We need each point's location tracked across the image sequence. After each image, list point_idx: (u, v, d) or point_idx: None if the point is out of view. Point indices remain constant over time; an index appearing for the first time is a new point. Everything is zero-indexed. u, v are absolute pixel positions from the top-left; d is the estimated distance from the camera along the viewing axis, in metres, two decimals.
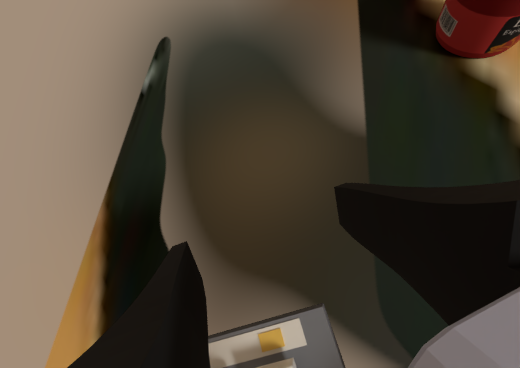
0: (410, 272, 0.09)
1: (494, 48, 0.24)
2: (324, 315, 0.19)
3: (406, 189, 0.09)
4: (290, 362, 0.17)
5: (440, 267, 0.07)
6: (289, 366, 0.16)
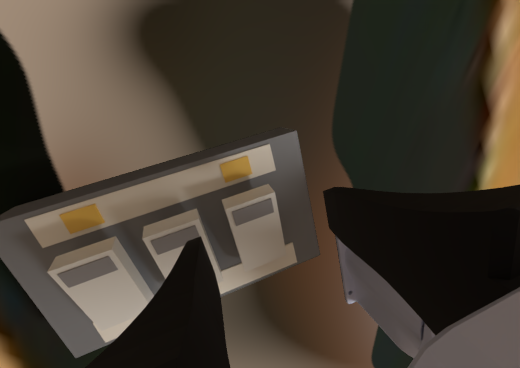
0: (396, 279, 0.09)
1: None
2: (296, 139, 0.16)
3: (392, 195, 0.08)
4: (269, 189, 0.15)
5: (424, 275, 0.07)
6: (271, 193, 0.14)
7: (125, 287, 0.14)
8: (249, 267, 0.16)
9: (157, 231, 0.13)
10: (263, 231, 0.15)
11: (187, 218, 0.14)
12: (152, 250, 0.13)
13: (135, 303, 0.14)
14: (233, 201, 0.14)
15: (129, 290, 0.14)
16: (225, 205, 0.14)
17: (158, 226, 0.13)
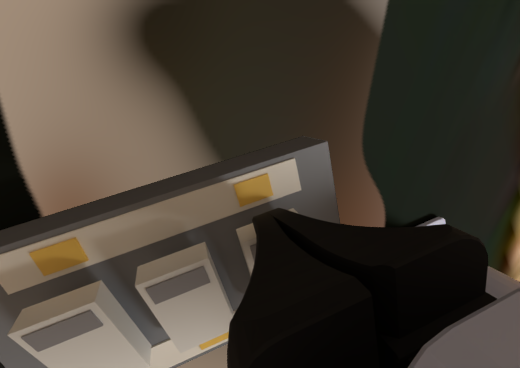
0: None
1: None
2: (327, 152, 0.13)
3: (319, 223, 0.08)
4: None
5: None
6: None
7: (114, 344, 0.11)
8: None
9: (154, 275, 0.10)
10: None
11: (193, 256, 0.11)
12: (148, 299, 0.10)
13: (127, 361, 0.11)
14: (251, 232, 0.11)
15: (119, 347, 0.11)
16: (241, 237, 0.11)
17: (155, 267, 0.10)
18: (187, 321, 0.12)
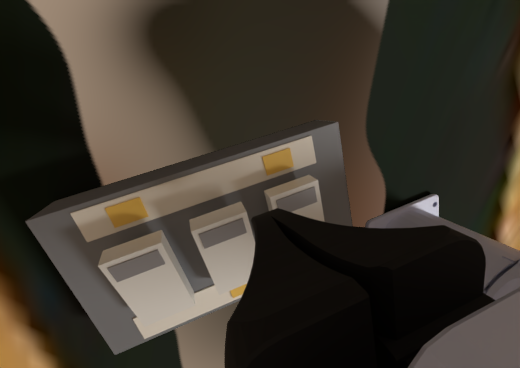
0: None
1: None
2: (338, 131, 0.16)
3: (317, 224, 0.08)
4: (312, 178, 0.15)
5: None
6: (315, 181, 0.14)
7: (170, 282, 0.14)
8: None
9: (205, 224, 0.13)
10: None
11: (234, 211, 0.13)
12: (199, 243, 0.13)
13: (179, 298, 0.14)
14: (276, 190, 0.14)
15: (174, 285, 0.14)
16: (269, 194, 0.14)
17: (204, 219, 0.13)
18: (226, 266, 0.14)
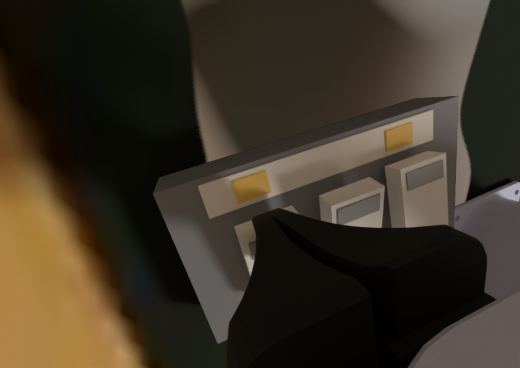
0: None
1: None
2: (456, 106, 0.15)
3: (318, 224, 0.08)
4: (436, 152, 0.14)
5: None
6: (443, 153, 0.13)
7: None
8: None
9: (343, 199, 0.12)
10: (430, 200, 0.14)
11: (369, 186, 0.12)
12: (334, 220, 0.12)
13: None
14: (402, 164, 0.13)
15: None
16: (396, 168, 0.13)
17: (338, 194, 0.12)
18: None
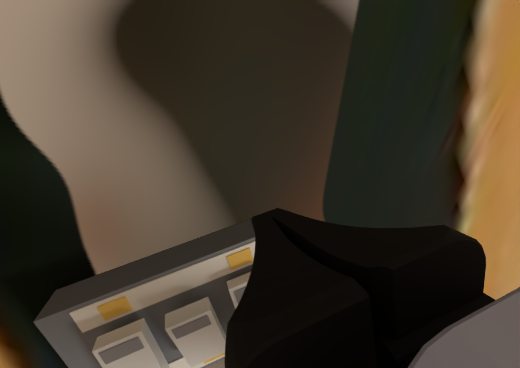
0: None
1: None
2: None
3: (317, 224, 0.08)
4: None
5: None
6: None
7: (148, 363, 0.17)
8: None
9: (176, 321, 0.16)
10: None
11: (200, 308, 0.17)
12: (172, 336, 0.16)
13: None
14: (235, 282, 0.18)
15: (151, 365, 0.17)
16: (229, 286, 0.18)
17: (177, 315, 0.17)
18: (196, 347, 0.18)
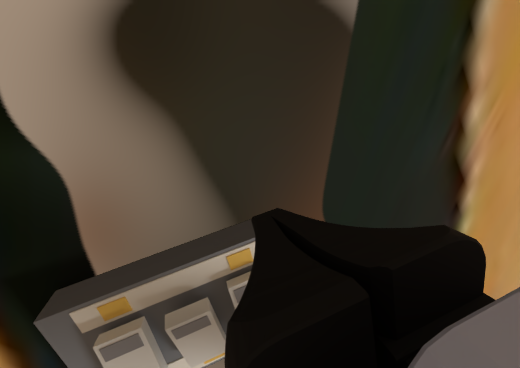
0: None
1: None
2: None
3: (317, 224, 0.08)
4: None
5: None
6: None
7: (148, 362, 0.17)
8: None
9: (176, 322, 0.16)
10: None
11: (200, 309, 0.17)
12: (172, 336, 0.16)
13: None
14: (234, 281, 0.18)
15: (151, 365, 0.17)
16: (228, 285, 0.18)
17: (176, 316, 0.17)
18: (196, 348, 0.18)
